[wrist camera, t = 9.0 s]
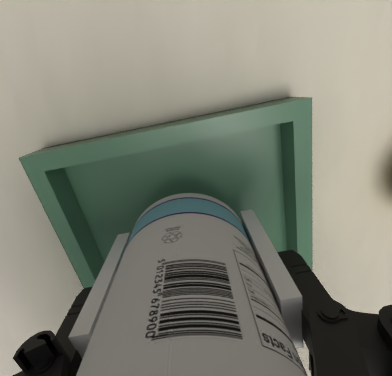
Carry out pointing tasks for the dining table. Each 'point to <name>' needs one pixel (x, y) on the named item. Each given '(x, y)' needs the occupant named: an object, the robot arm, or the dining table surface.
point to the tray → (181, 177)
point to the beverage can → (190, 300)
